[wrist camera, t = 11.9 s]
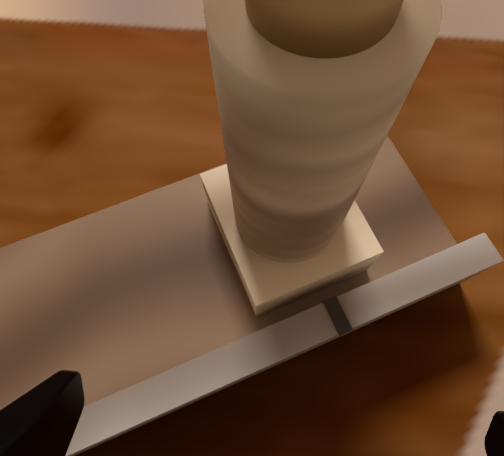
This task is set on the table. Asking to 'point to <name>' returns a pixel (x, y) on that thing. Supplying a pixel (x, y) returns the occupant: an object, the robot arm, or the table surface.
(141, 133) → the table surface
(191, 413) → the table surface
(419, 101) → the table surface
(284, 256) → the white tall rounded post
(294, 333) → the board
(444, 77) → the table surface
